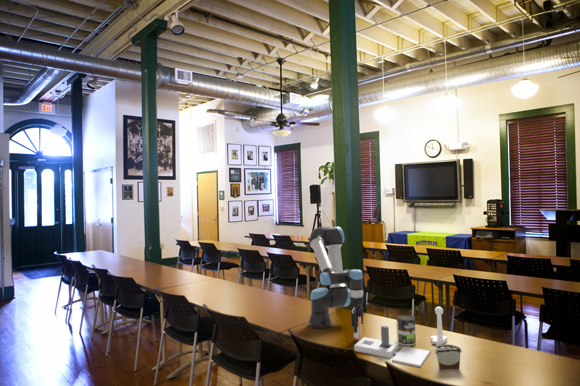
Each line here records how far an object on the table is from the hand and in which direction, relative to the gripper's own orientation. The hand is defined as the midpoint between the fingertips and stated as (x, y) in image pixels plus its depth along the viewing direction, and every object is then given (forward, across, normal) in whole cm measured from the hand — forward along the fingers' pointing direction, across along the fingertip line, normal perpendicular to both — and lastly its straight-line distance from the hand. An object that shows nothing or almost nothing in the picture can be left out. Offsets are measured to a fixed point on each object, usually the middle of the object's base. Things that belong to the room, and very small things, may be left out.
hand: (358, 336), depth 227 cm
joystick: (+2, +17, -41) cm, 44 cm away
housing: (+2, -10, -15) cm, 18 cm away
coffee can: (+2, +8, -26) cm, 27 cm away
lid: (+2, -11, -33) cm, 35 cm away
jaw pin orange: (+2, 0, 0) cm, 2 cm away
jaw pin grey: (+2, -10, -20) cm, 22 cm away
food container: (+2, -15, -52) cm, 54 cm away
